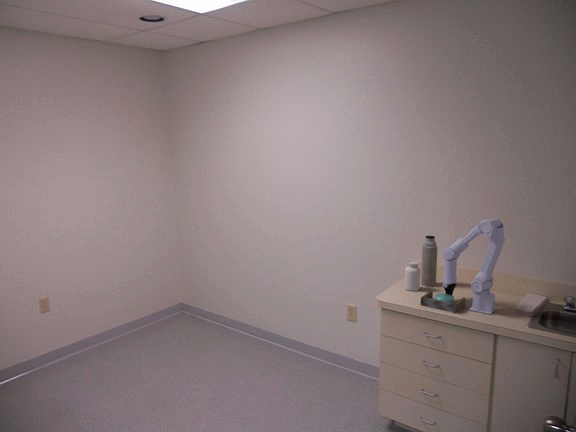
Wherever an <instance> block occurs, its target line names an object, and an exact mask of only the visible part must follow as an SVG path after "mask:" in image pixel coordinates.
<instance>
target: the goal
mask: <svg viewBox="0 0 576 432" xmlns="http://www.w3.org/2000/svg"><path fill="white" fill-rule="evenodd" d="M466 302H467V300H466V297H462V298H460V300H458V301H457V302H456V303H454V304H453V303H449V302H444V301H439V300H435V298H434V291H432V290H430V291H428V292H426V293H425V294H424V295H422V296H420V306H422V307H426V308H427V307H428V308H431V309H435V310H440V311H444V312H449V313H453V314H458V313H459V312H460V311H461V310H462V309H463V308H465V306H466Z"/></svg>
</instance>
